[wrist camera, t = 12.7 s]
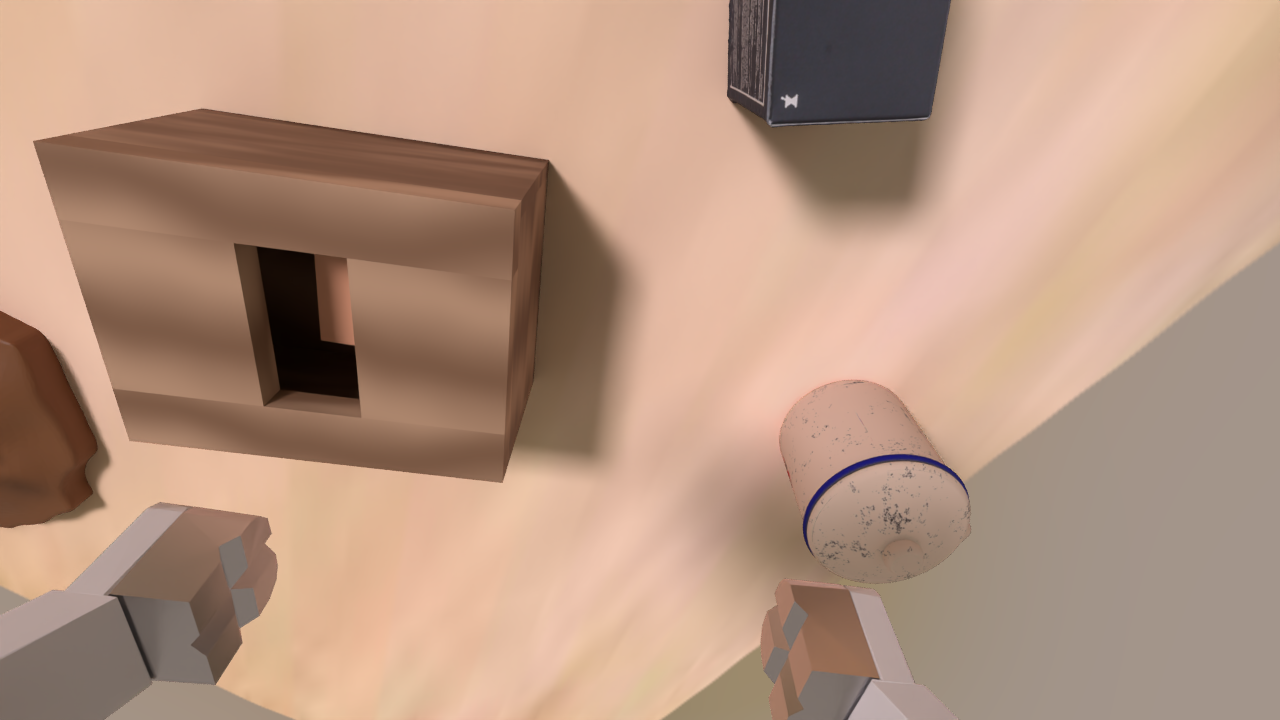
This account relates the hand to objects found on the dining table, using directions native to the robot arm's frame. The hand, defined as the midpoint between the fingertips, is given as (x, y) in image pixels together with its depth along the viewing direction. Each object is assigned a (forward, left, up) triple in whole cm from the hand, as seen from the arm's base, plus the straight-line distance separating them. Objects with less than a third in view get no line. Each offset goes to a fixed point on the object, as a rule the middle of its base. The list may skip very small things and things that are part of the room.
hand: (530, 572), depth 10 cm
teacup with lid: (+15, +19, -27) cm, 36 cm away
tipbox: (+6, -12, -27) cm, 30 cm away
